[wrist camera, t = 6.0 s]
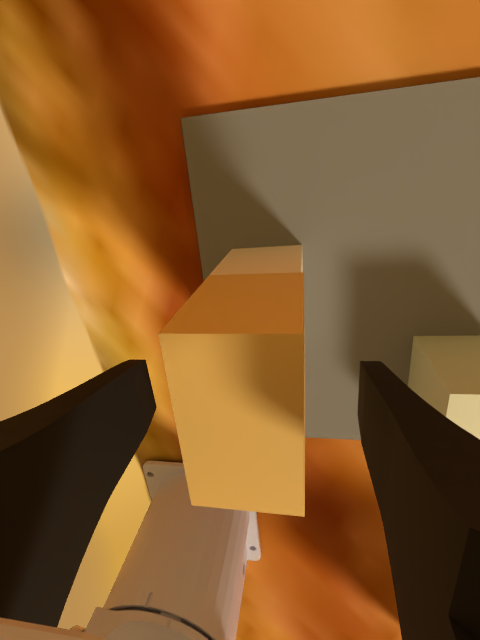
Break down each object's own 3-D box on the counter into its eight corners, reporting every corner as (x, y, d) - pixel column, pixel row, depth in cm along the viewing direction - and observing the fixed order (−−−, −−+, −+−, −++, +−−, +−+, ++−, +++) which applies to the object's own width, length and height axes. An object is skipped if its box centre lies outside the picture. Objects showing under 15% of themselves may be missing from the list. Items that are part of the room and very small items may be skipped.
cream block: (304, 352, 19) (304, 410, 15) (242, 352, 20) (224, 407, 15) (302, 244, 17) (300, 273, 12) (232, 249, 18) (206, 277, 13)
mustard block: (304, 408, 15) (304, 516, 10) (224, 405, 15) (191, 505, 11) (304, 272, 12) (303, 333, 8) (209, 275, 13) (158, 333, 9)
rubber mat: (537, 443, 19) (542, 448, 19) (226, 429, 23) (224, 433, 23) (660, 53, 12) (671, 50, 12) (183, 119, 16) (180, 118, 16)
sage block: (469, 431, 19) (518, 511, 15) (402, 428, 20) (430, 504, 16) (490, 335, 17) (555, 396, 13) (413, 335, 18) (449, 394, 13)
